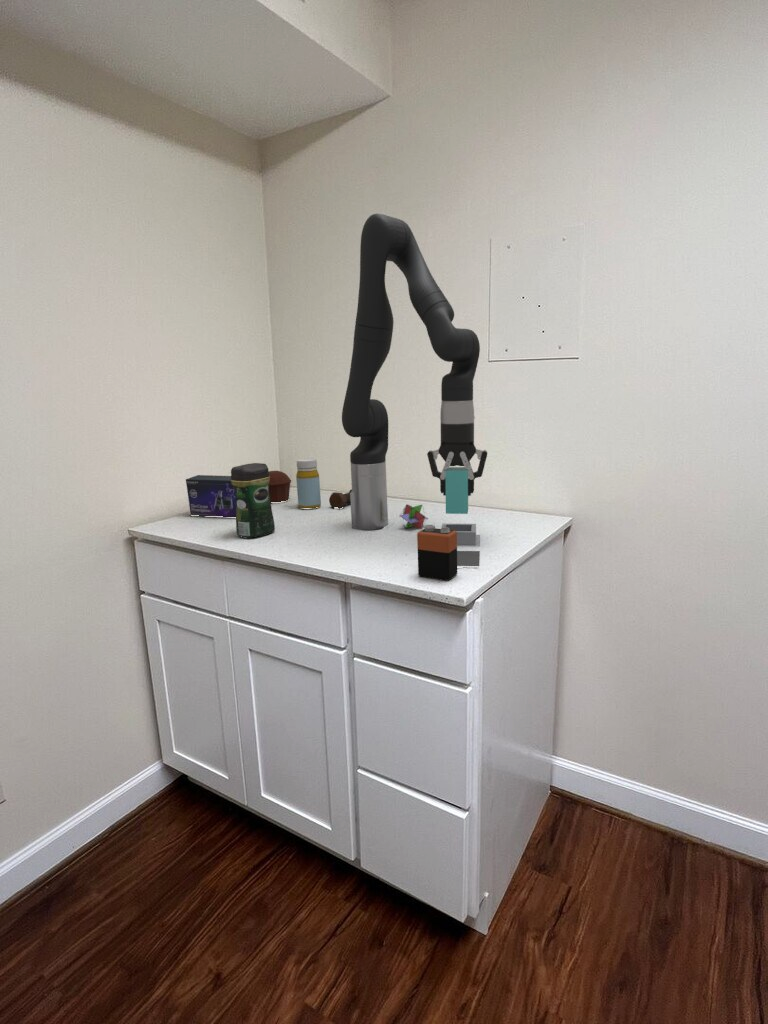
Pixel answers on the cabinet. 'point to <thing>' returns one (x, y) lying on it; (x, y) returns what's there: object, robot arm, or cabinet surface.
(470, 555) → the mat
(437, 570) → the battery
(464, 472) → the teal block
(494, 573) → the cabinet surface
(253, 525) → the coffee jar
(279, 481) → the muffin
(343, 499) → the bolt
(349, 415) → the robot arm
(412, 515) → the geometric puzzle
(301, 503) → the bottle
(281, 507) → the cabinet surface
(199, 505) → the box
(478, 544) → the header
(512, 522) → the cabinet surface
